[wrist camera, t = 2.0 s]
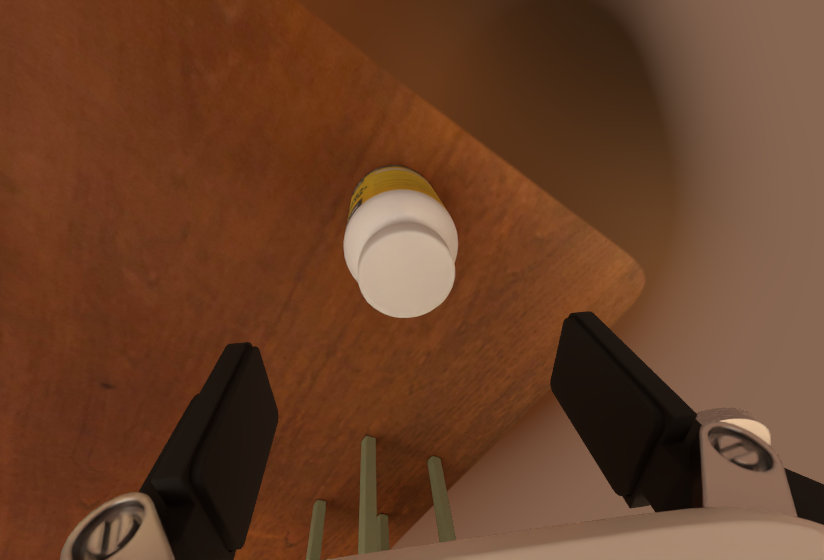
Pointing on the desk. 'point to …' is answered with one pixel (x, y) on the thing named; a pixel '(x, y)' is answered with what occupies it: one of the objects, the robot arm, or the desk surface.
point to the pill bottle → (400, 242)
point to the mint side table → (370, 525)
